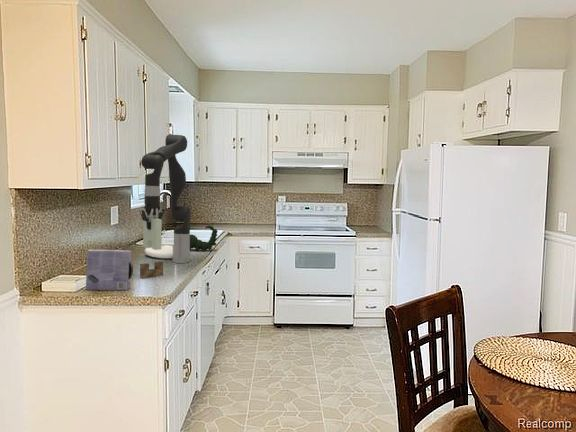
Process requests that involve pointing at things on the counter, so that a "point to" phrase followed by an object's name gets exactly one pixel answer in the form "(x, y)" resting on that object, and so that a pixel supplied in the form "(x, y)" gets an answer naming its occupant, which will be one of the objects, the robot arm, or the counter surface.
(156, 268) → the walnut u-shaped block
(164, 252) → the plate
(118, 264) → the cake pan box
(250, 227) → the counter surface
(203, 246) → the toy figurine
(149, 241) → the pale green plank
